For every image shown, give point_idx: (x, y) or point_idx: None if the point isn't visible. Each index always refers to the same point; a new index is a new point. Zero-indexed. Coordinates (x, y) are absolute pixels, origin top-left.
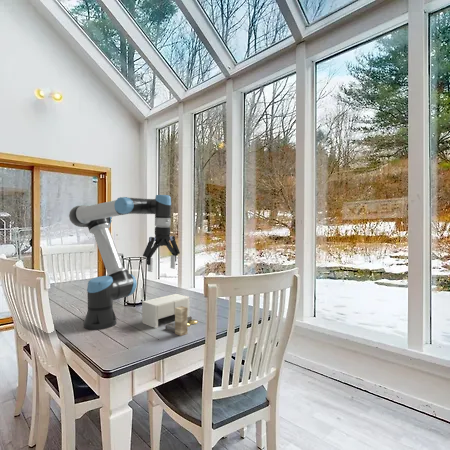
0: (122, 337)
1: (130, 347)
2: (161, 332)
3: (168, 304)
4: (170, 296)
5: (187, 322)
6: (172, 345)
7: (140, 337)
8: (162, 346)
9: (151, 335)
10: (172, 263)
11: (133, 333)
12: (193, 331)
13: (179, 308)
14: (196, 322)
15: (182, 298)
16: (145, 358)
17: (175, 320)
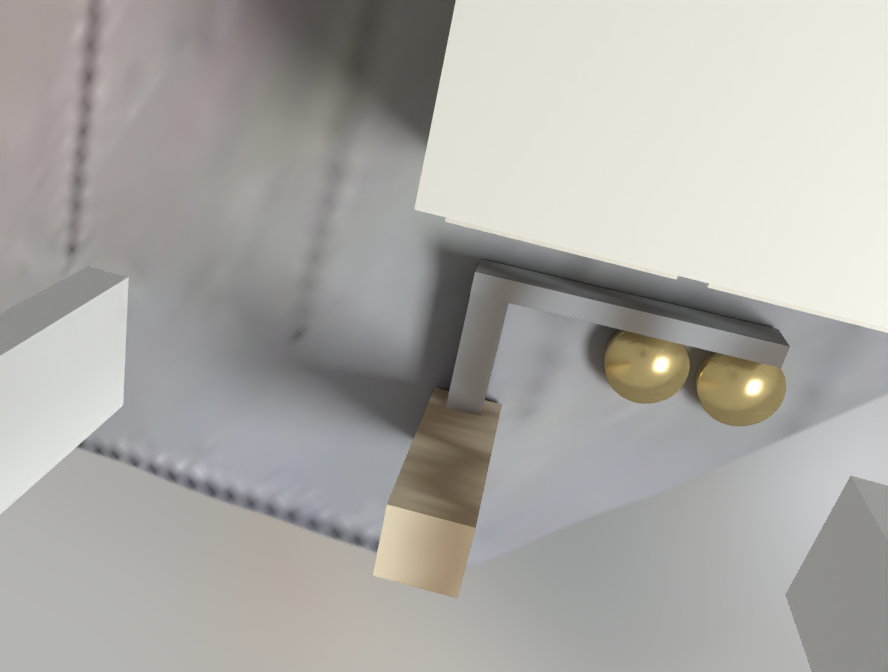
0: (160, 55)
1: (90, 257)
2: (413, 268)
3: (606, 258)
4: None
5: (681, 363)
6: (273, 472)
7: (244, 190)
8: (226, 428)
9: (321, 239)
10: (858, 656)
11: (269, 69)
12: (555, 472)
13: (396, 547)
14: (729, 422)
15: (872, 313)
16: None
17: (411, 445)
